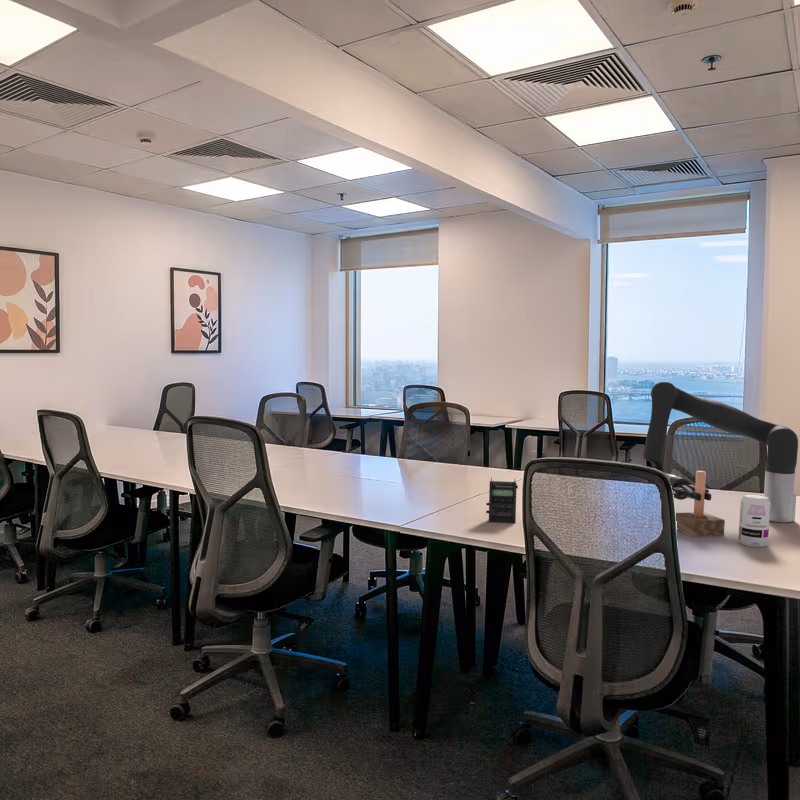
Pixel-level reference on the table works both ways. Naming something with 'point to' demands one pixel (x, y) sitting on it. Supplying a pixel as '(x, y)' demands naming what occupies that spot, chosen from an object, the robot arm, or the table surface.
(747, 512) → the supplement can
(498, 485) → the geiger counter
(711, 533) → the socket block
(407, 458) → the table surface
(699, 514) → the peg
